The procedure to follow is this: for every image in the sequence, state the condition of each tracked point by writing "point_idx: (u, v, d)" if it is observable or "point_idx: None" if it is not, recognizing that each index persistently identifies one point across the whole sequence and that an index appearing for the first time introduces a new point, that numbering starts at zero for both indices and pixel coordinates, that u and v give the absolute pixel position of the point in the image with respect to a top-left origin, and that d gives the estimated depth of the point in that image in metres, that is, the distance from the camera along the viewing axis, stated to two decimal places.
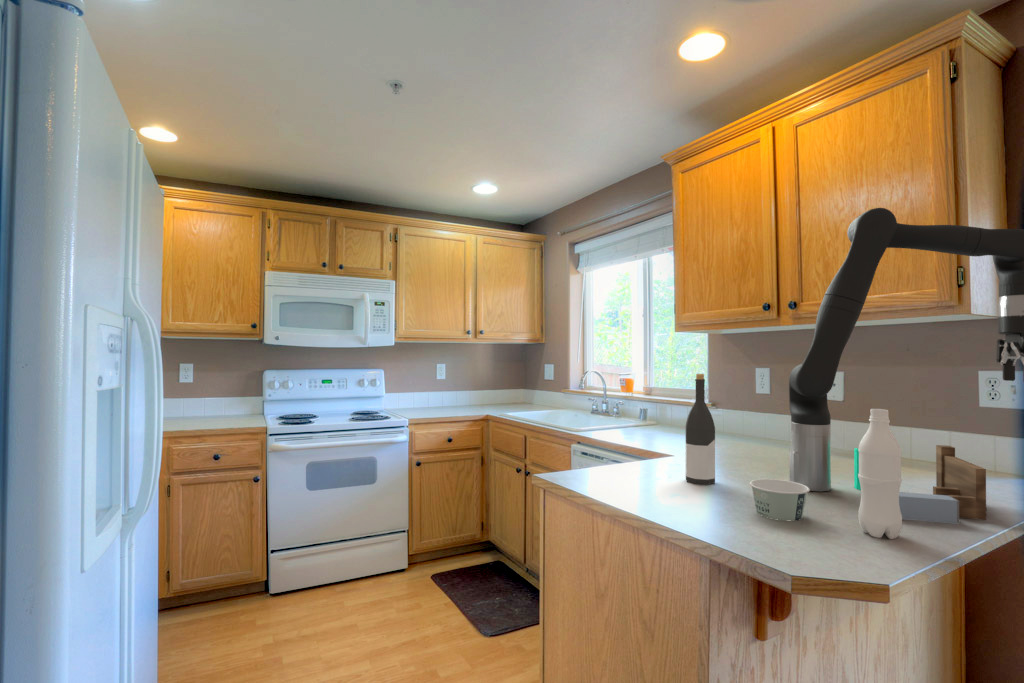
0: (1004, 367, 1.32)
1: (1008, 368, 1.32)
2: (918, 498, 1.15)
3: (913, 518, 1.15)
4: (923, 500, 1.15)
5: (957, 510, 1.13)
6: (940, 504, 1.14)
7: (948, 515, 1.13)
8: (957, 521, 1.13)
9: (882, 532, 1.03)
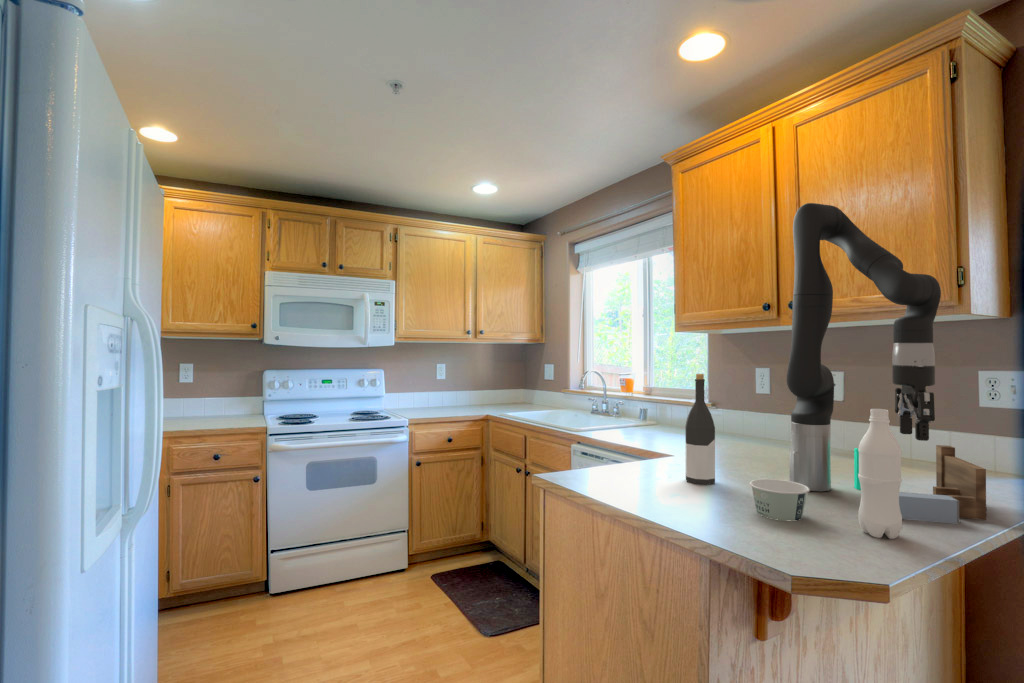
0: (901, 419, 1.21)
1: (905, 420, 1.21)
2: (918, 498, 1.15)
3: (913, 518, 1.15)
4: (922, 500, 1.15)
5: (957, 510, 1.13)
6: (940, 504, 1.14)
7: (948, 515, 1.13)
8: (957, 521, 1.13)
9: (882, 532, 1.03)
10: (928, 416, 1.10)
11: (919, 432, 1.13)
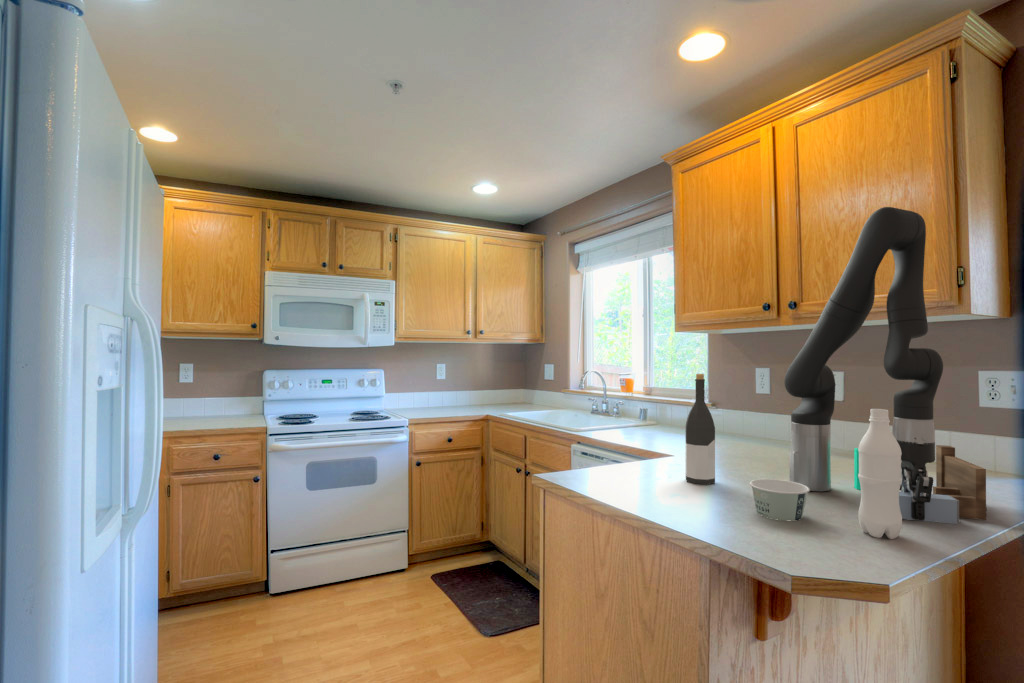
0: None
1: None
2: None
3: None
4: None
5: (957, 510, 1.13)
6: (940, 504, 1.14)
7: (948, 515, 1.13)
8: (957, 521, 1.13)
9: (882, 532, 1.03)
10: (924, 497, 1.12)
11: (915, 512, 1.14)
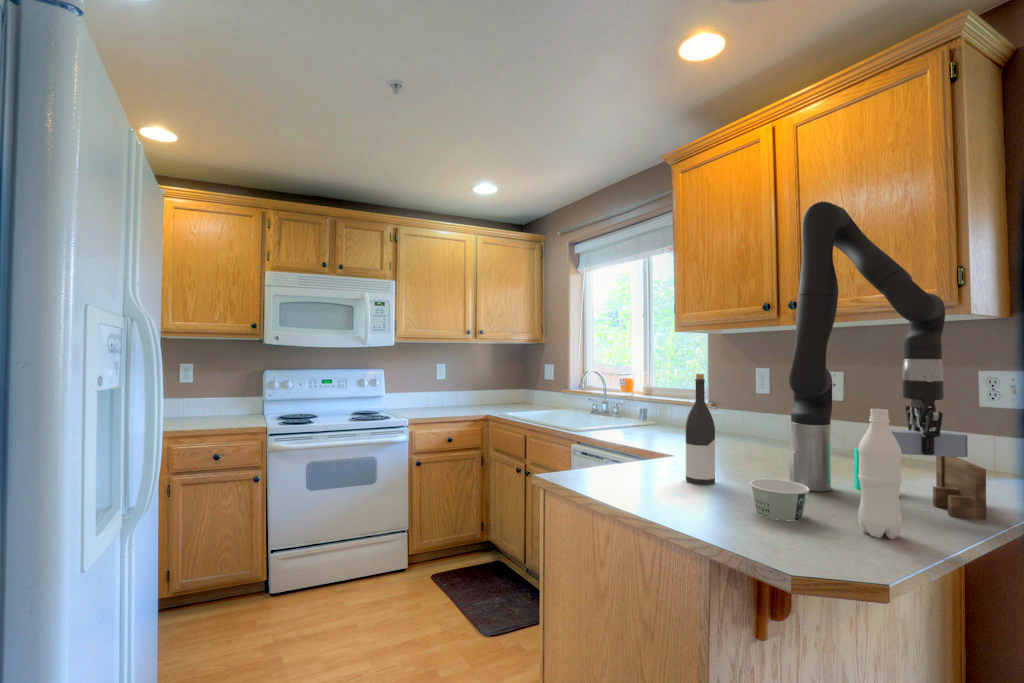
0: None
1: None
2: None
3: None
4: None
5: (965, 444, 1.19)
6: (949, 439, 1.20)
7: (957, 449, 1.19)
8: (965, 454, 1.19)
9: (882, 532, 1.03)
10: (933, 432, 1.18)
11: (925, 447, 1.20)
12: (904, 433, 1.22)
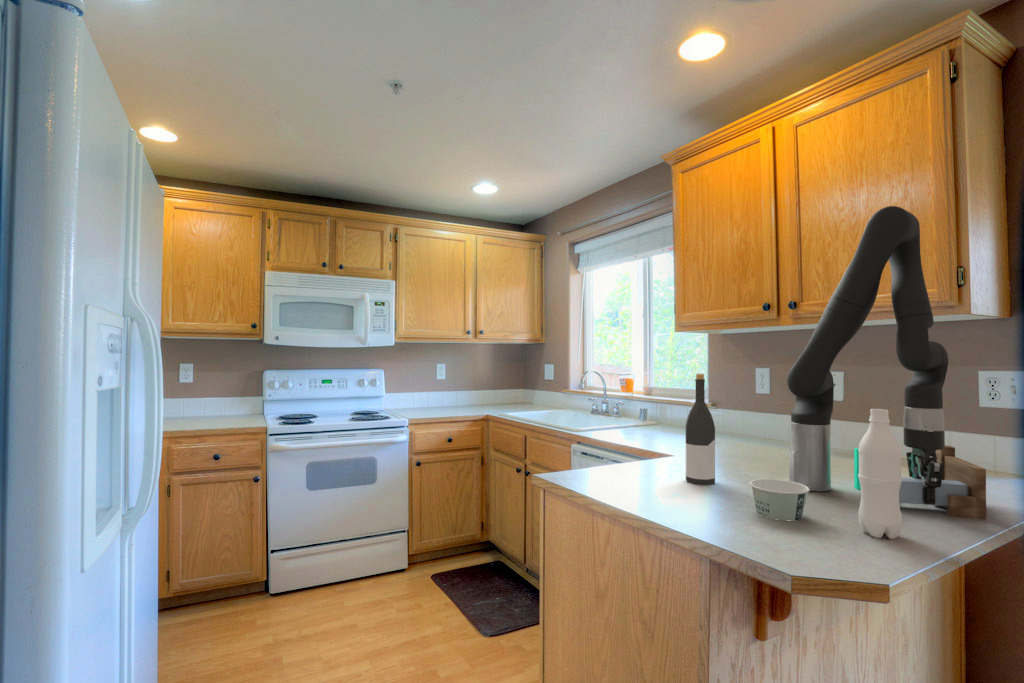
0: None
1: None
2: None
3: None
4: None
5: (967, 494, 1.18)
6: (951, 489, 1.19)
7: None
8: None
9: (882, 532, 1.03)
10: (935, 483, 1.18)
11: (926, 496, 1.20)
12: (905, 482, 1.22)
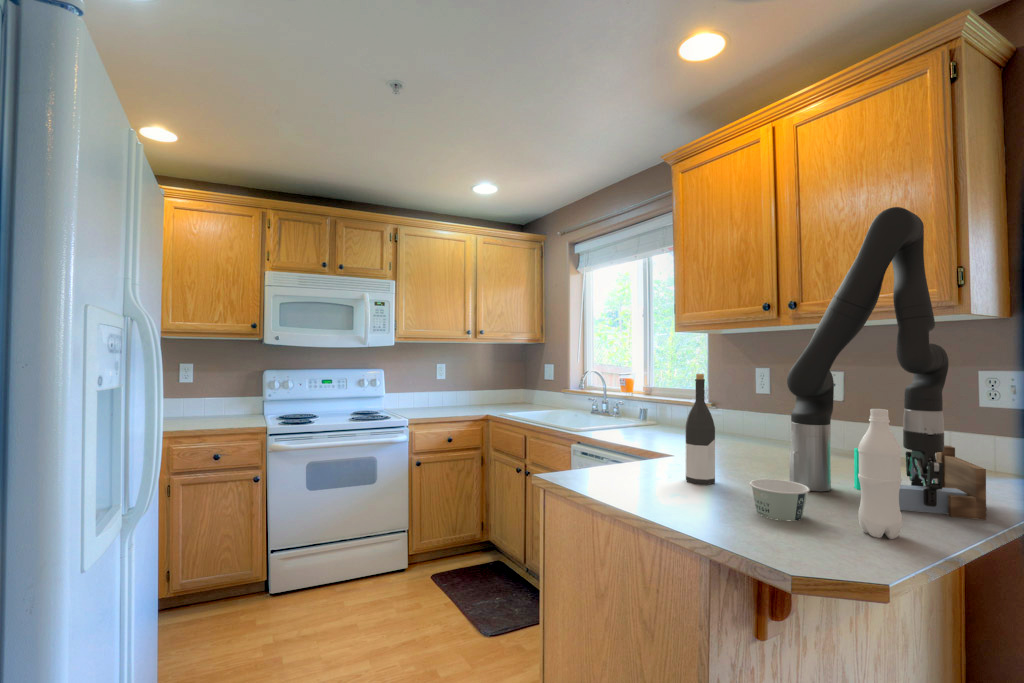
0: (912, 483, 1.26)
1: (916, 485, 1.26)
2: None
3: (923, 510, 1.21)
4: None
5: None
6: None
7: None
8: None
9: (882, 532, 1.03)
10: (936, 484, 1.17)
11: (927, 498, 1.19)
12: (904, 489, 1.22)
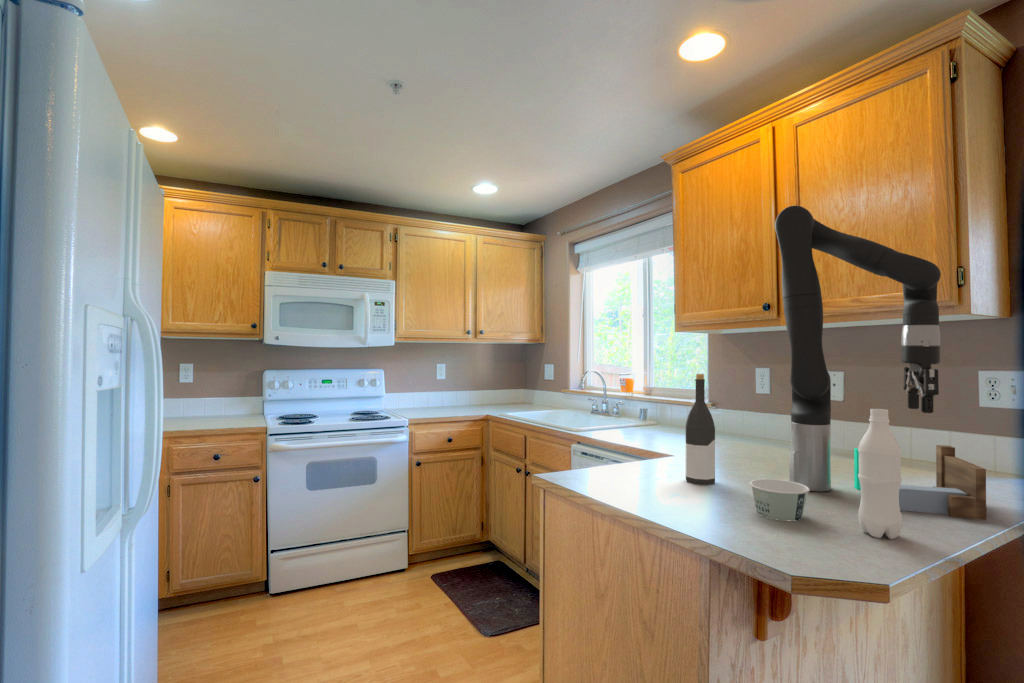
0: (909, 395, 1.33)
1: (912, 396, 1.33)
2: (929, 491, 1.21)
3: (924, 510, 1.21)
4: (933, 493, 1.20)
5: None
6: None
7: None
8: None
9: (882, 532, 1.03)
10: (932, 390, 1.22)
11: (924, 405, 1.24)
12: (905, 490, 1.22)
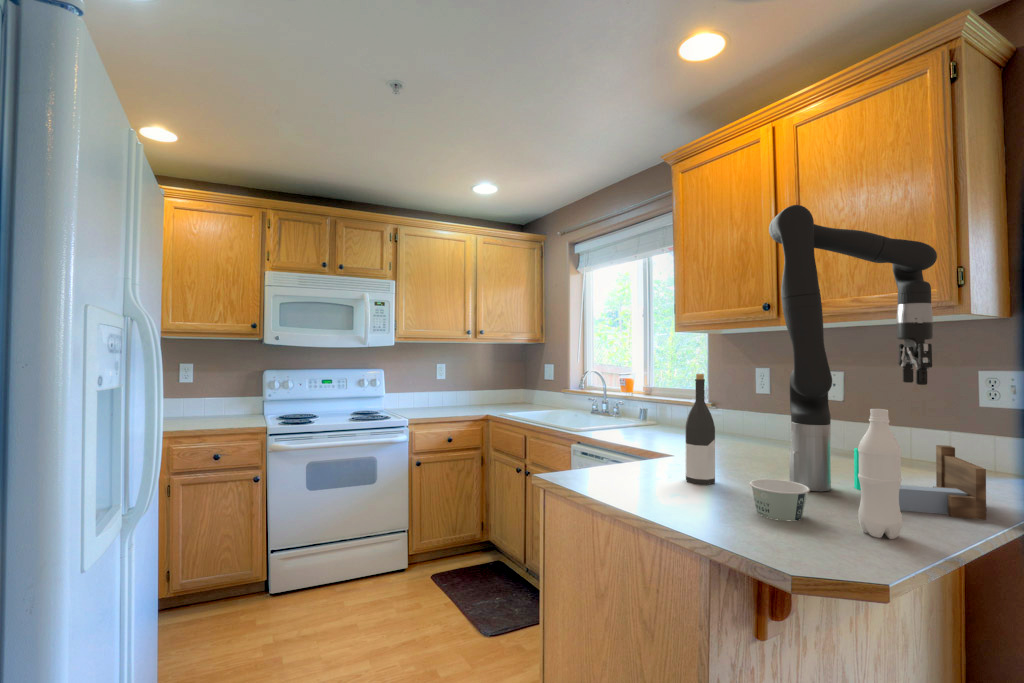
0: (904, 370, 1.42)
1: (907, 371, 1.42)
2: (929, 491, 1.20)
3: (925, 510, 1.21)
4: (934, 493, 1.20)
5: None
6: None
7: None
8: None
9: (882, 532, 1.03)
10: (927, 363, 1.32)
11: (919, 377, 1.34)
12: (906, 490, 1.22)
